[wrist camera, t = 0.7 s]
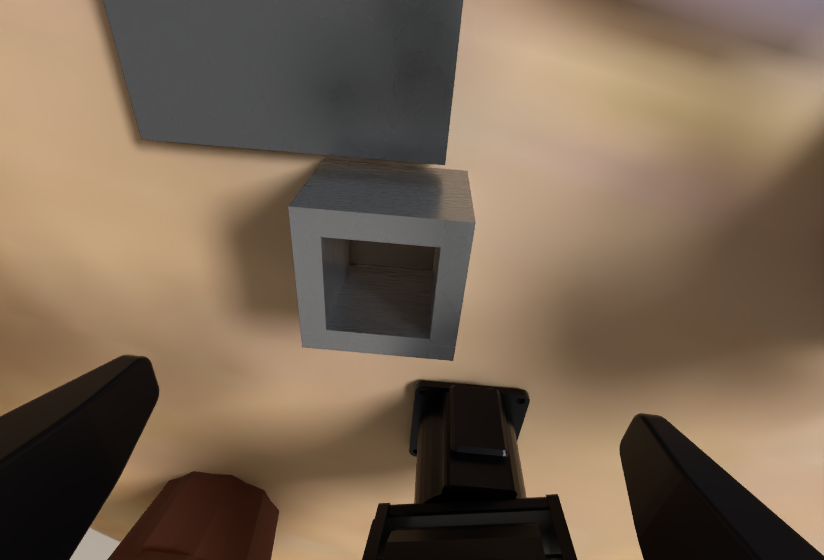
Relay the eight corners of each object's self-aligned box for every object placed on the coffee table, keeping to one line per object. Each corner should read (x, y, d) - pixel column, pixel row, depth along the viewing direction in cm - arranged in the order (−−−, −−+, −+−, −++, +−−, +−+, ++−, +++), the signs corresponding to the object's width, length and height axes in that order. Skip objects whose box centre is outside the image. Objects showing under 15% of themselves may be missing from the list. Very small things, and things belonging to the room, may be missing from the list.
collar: (450, 289, 21) (453, 360, 17) (330, 279, 21) (302, 347, 17) (467, 171, 18) (475, 222, 13) (324, 159, 18) (288, 206, 14)
